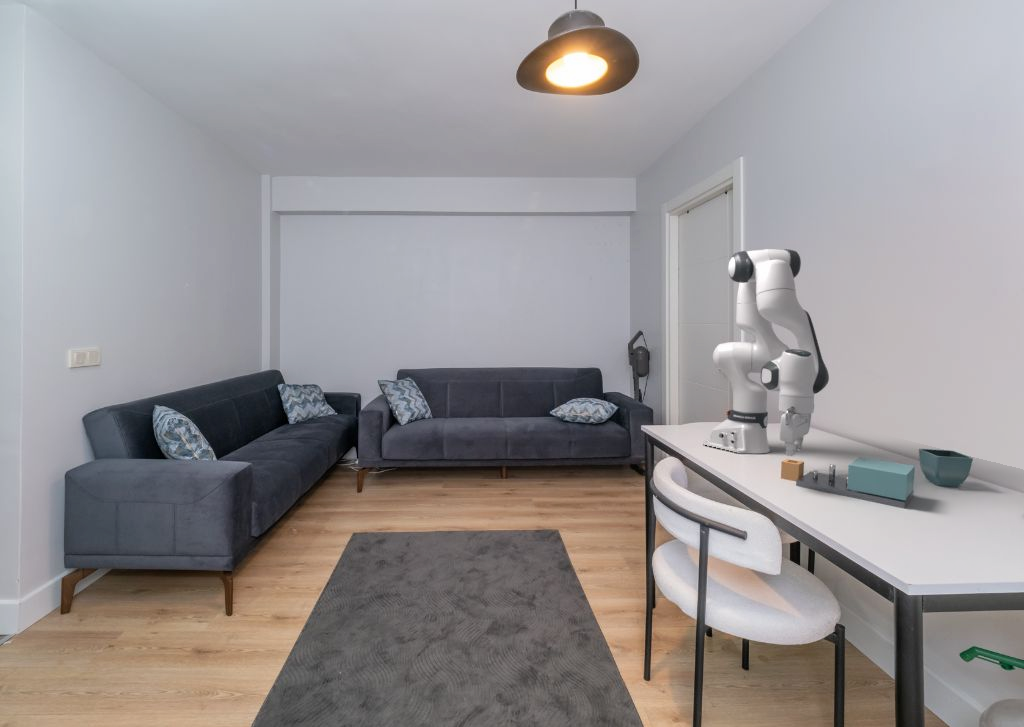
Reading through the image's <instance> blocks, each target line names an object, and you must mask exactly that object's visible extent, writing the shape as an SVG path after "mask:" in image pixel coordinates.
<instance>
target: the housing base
mask: <svg viewBox="0 0 1024 727" xmlns="http://www.w3.org/2000/svg"><path fill="white" fill-rule="evenodd" d="M836 468H837V467H836V464H830V463H829V471H828V472H829V473H827V474H826V473H822V472H819V470H813V471H809V472H807V473H805V474H804V476H802V477H801V478H799V479H797V480H796V481H795V486H797V487H802V488H805V489H806V488H807V489H810V490H816V491H821V492H826V493H829V494H835V495H839V496H845V497H850V498H854V499H858V500H859V499H860V500H863V501H868V502H872V503H878V504H882V505H888V506H890V507H891V506H892V507H896V508H901V509H905V508H906V507H907V505H908V504H909V503H910V501H911V500H912V499H913V497H914V493H915V492H914V490H913V491H912V492H911V494H910V495H909V496H908V498H907V499H906V500H900V499H895V498H890V497H885V496H880V495H875V494H870V493H865V492H860V491H855V490H850V489H847V487H848V476H846V477H843V476H839V475H836Z"/></svg>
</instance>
